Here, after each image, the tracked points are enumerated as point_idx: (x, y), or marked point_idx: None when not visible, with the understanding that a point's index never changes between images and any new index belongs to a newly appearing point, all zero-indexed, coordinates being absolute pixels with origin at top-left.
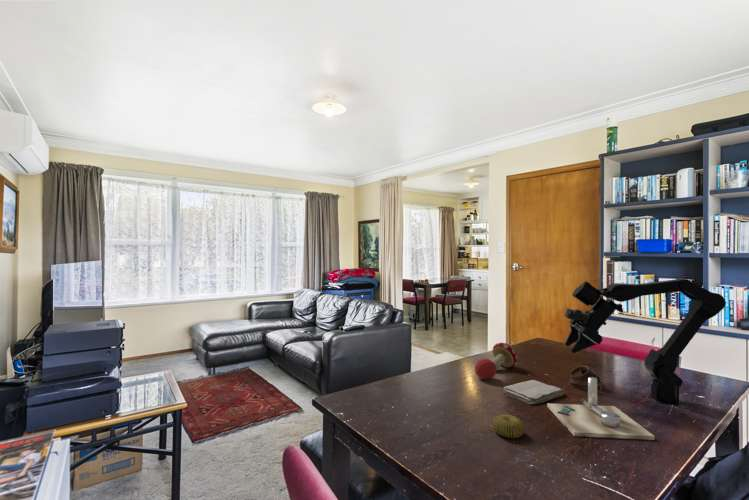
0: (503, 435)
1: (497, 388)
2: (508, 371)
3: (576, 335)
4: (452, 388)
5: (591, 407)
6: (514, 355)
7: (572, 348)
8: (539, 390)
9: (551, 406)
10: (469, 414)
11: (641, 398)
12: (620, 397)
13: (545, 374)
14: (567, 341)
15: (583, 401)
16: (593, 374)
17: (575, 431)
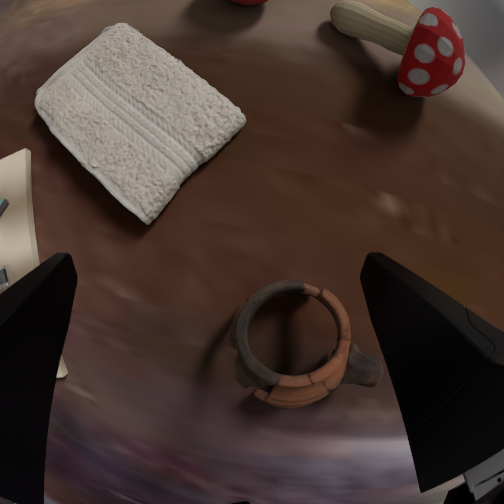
0: None
1: (161, 18)
2: (362, 70)
3: (441, 409)
4: None
5: None
6: (409, 60)
7: (43, 267)
8: (93, 119)
9: (8, 160)
10: (9, 14)
11: (216, 482)
12: (198, 433)
13: (386, 200)
14: (388, 279)
15: (6, 265)
16: (270, 392)
17: None
